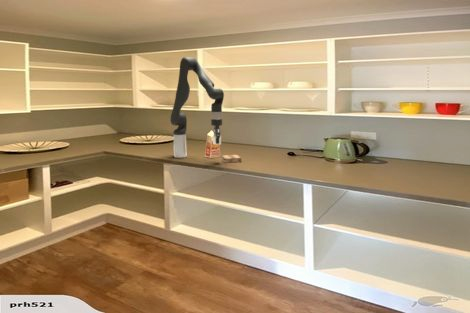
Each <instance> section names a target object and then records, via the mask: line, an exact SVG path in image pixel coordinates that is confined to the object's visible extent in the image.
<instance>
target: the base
mask: <svg viewBox="0 0 470 313" xmlns="http://www.w3.org/2000/svg"><path fill="white" fill-rule="evenodd" d="M220 158H221V161H222V162H223V163H224V164H227V163H230V164H231V163H242V157H241V156H239V155H238V154H227V155H225V154H224V155H220Z"/></svg>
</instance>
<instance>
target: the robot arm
mask: <svg viewBox="0 0 470 313" xmlns="http://www.w3.org/2000/svg"><path fill="white" fill-rule="evenodd" d="M189 71H192V72H194V73H195V74H196V76H197V77H198V82H199V84H200V85H201V86H202V87H203V89H204V90H205V92H206V94H207V95H208V97H209V98H210V99H211V100H214V102H213V103H211V109H210V111H211V113H210V123H211V124H210V125H211V126H213V127H212V128H213V130H212V131H213V132H214V135H216V144H219V138H220V135H221V128H220V126H222V125H223V112H222V111H223V109H222V108H223V107H222V106H223V102H224V97H225V94H224V90H223V89H221V88H215V83H214V82H213V80H211V79H210V77H209V76H208V75H207V73H205V71H204V69H203V68H202V66H201V65H200V62H199V61H198V60H197V59H196V58H195V57H193V56H184V57H182V58H181V59H180V64H179V74H178V80H177V81H178V82H177V86H176V92H175V98H174V103H173V106H172V109H171V110H172V111H171V114H170V123H171V125H172V126H177V128H175V129H174V130H173V133H172V134H173V135H172V136H173V157H174V158H175V159H176V158H180V159H182V158H186V157H187V154H188V153H187V130H188V129H187V125H188V124H187V122H188V121H187V120H188V119H187V114H186V113H185V112H181V109H183V106H184V105H185V103H187V101H188V99H189V96H190V92H191V91H190V90H191V89H190V88H191V87H190V84H189V80H188V74H189ZM217 135H218V136H217ZM219 145H220V144H219Z"/></svg>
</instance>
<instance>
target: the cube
mask: <svg viewBox="0 0 470 313" xmlns="http://www.w3.org/2000/svg"><path fill="white" fill-rule="evenodd" d="M217 136H218V135H217ZM213 144H214V145H217V144H216V135H213ZM219 145H222V135H221V134H220V138H219Z"/></svg>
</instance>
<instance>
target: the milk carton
mask: <svg viewBox="0 0 470 313" xmlns="http://www.w3.org/2000/svg"><path fill="white" fill-rule="evenodd" d="M213 135H214V131H213V130H210V132H208V133H207V138H206V144H205V150H204V152H205V153H204V157H206V158H208V159H209V158H211V159H213V158H219V157H220V158H221V149H220V148H221V147H220V144H217V145H214V144H213Z"/></svg>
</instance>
